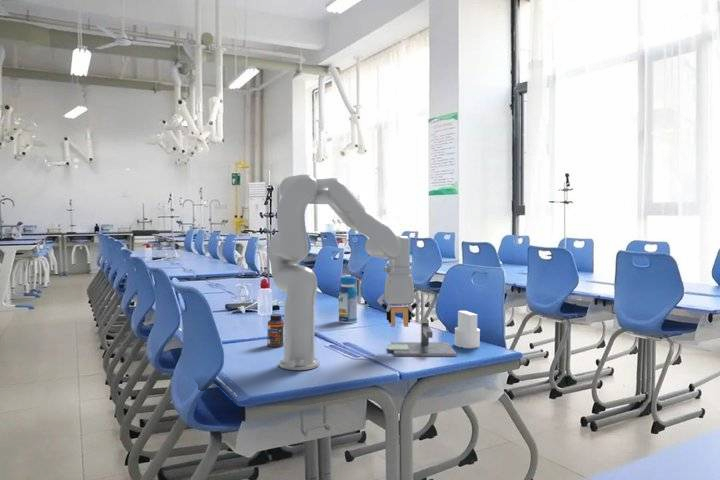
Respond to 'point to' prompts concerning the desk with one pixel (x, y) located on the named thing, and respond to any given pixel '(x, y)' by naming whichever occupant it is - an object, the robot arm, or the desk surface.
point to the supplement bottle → (275, 331)
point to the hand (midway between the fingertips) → (399, 321)
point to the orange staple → (399, 310)
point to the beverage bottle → (347, 300)
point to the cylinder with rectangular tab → (467, 330)
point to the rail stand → (422, 345)
